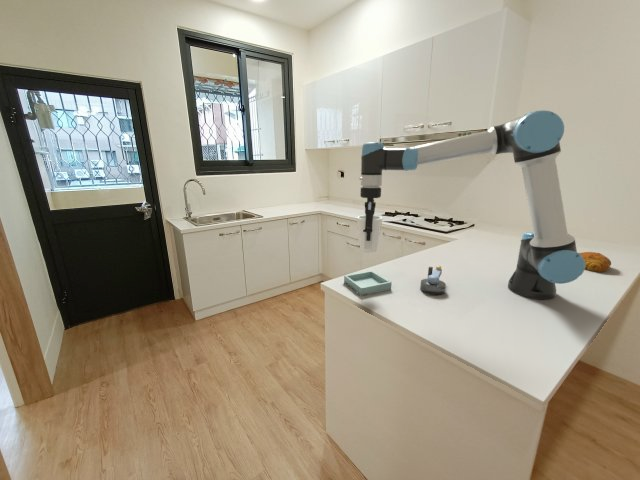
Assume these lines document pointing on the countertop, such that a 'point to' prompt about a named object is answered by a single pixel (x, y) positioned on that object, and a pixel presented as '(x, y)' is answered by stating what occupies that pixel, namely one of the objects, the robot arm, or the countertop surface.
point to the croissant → (595, 261)
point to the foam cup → (375, 233)
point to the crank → (435, 276)
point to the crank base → (432, 286)
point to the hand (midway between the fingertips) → (368, 244)
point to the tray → (367, 282)
